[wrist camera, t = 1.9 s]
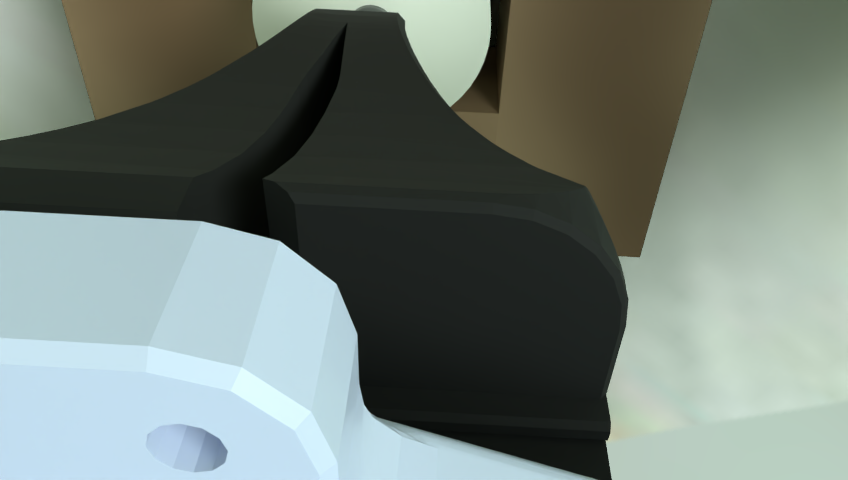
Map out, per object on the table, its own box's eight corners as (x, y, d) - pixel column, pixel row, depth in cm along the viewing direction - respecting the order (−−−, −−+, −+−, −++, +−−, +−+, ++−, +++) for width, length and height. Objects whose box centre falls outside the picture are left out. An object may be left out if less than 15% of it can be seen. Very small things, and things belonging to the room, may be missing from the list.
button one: (498, -134, 13) (502, -87, 11) (480, 73, 16) (481, 141, 14) (270, -144, 13) (234, -100, 11) (288, 63, 16) (262, 130, 14)
